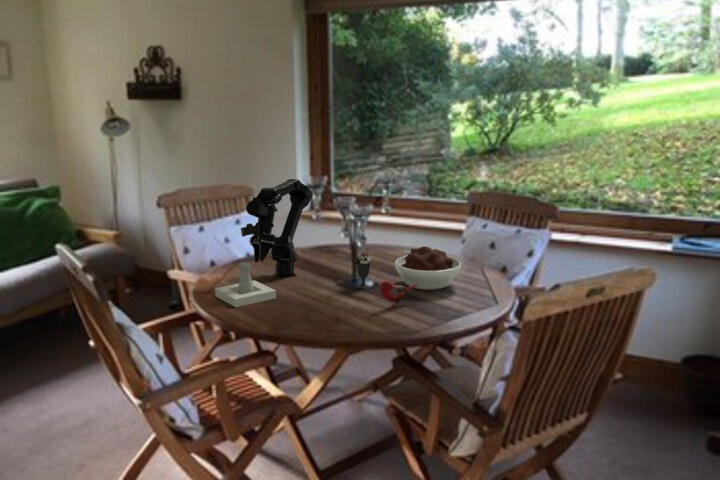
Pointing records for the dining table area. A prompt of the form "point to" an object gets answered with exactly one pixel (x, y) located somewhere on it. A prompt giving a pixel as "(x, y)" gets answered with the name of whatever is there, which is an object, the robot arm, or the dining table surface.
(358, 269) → the sundae
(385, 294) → the decorative bird figurine
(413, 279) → the bowl of chocolate pudding
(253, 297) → the grey block
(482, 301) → the dining table surface
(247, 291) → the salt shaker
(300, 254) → the dining table surface
